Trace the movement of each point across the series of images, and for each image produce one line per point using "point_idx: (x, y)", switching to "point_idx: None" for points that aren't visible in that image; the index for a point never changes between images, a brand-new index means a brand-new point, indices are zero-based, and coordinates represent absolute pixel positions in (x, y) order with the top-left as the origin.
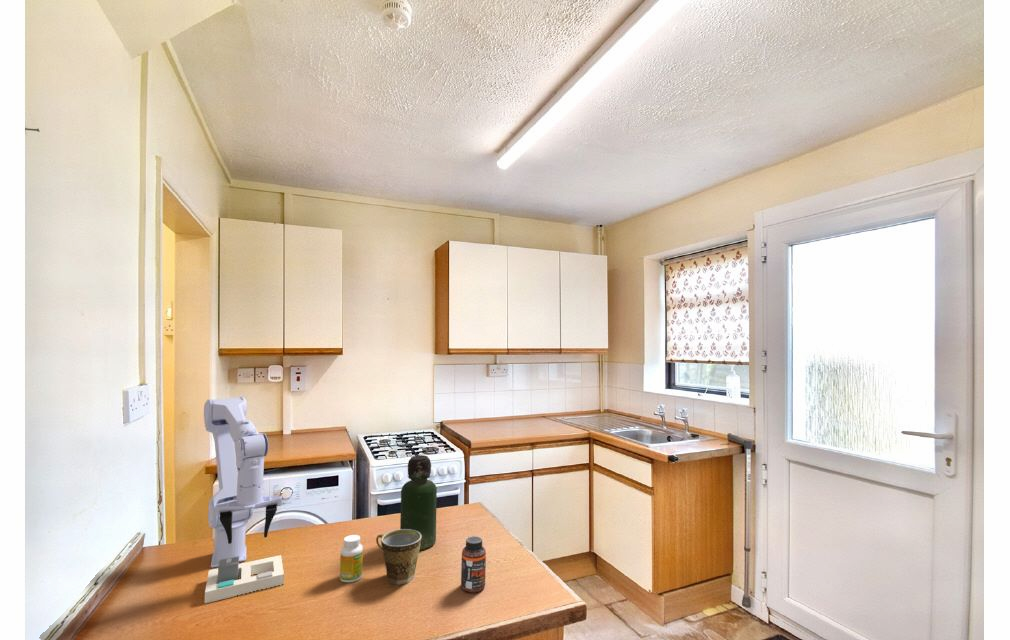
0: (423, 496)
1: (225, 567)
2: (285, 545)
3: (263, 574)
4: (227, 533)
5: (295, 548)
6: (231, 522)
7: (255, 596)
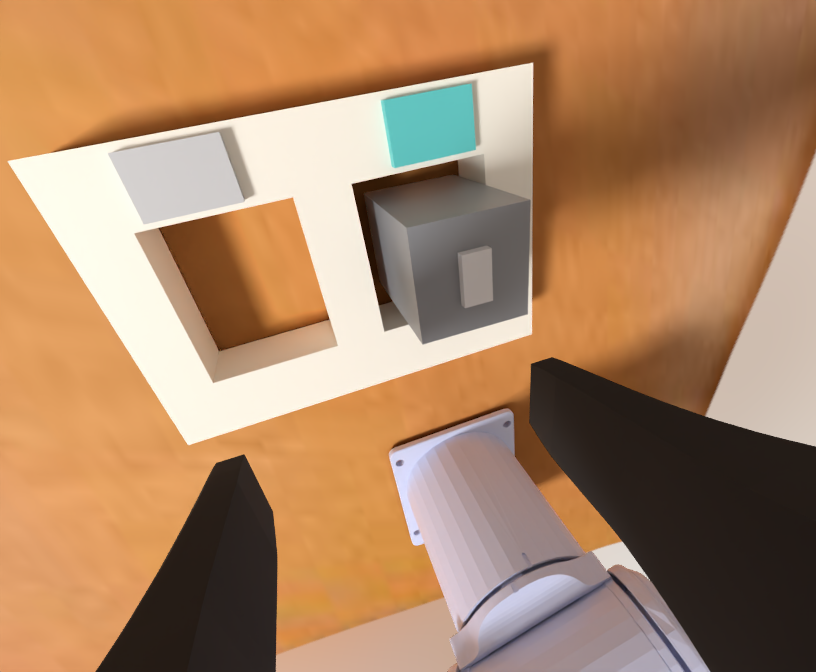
0: None
1: (481, 207)
2: None
3: (194, 179)
4: (652, 403)
5: None
6: (711, 550)
7: (210, 36)
